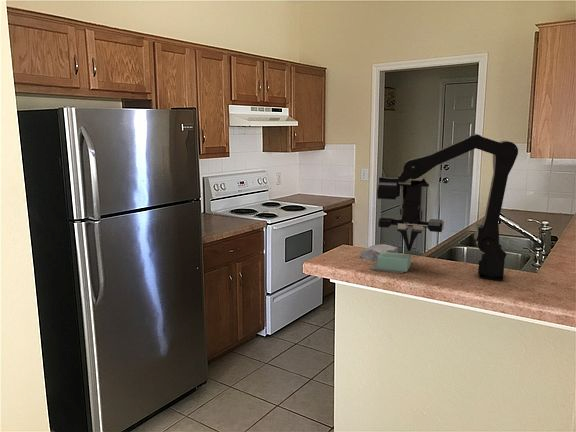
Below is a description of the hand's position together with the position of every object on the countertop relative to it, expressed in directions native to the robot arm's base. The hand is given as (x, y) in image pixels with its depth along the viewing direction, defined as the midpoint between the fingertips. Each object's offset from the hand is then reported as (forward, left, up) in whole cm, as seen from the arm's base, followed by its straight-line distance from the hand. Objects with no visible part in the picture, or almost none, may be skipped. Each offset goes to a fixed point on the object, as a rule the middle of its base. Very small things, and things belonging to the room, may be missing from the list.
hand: (409, 250), depth 147 cm
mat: (+6, 0, -6) cm, 8 cm away
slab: (0, 0, -4) cm, 4 cm away
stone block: (+12, -12, -7) cm, 18 cm away
